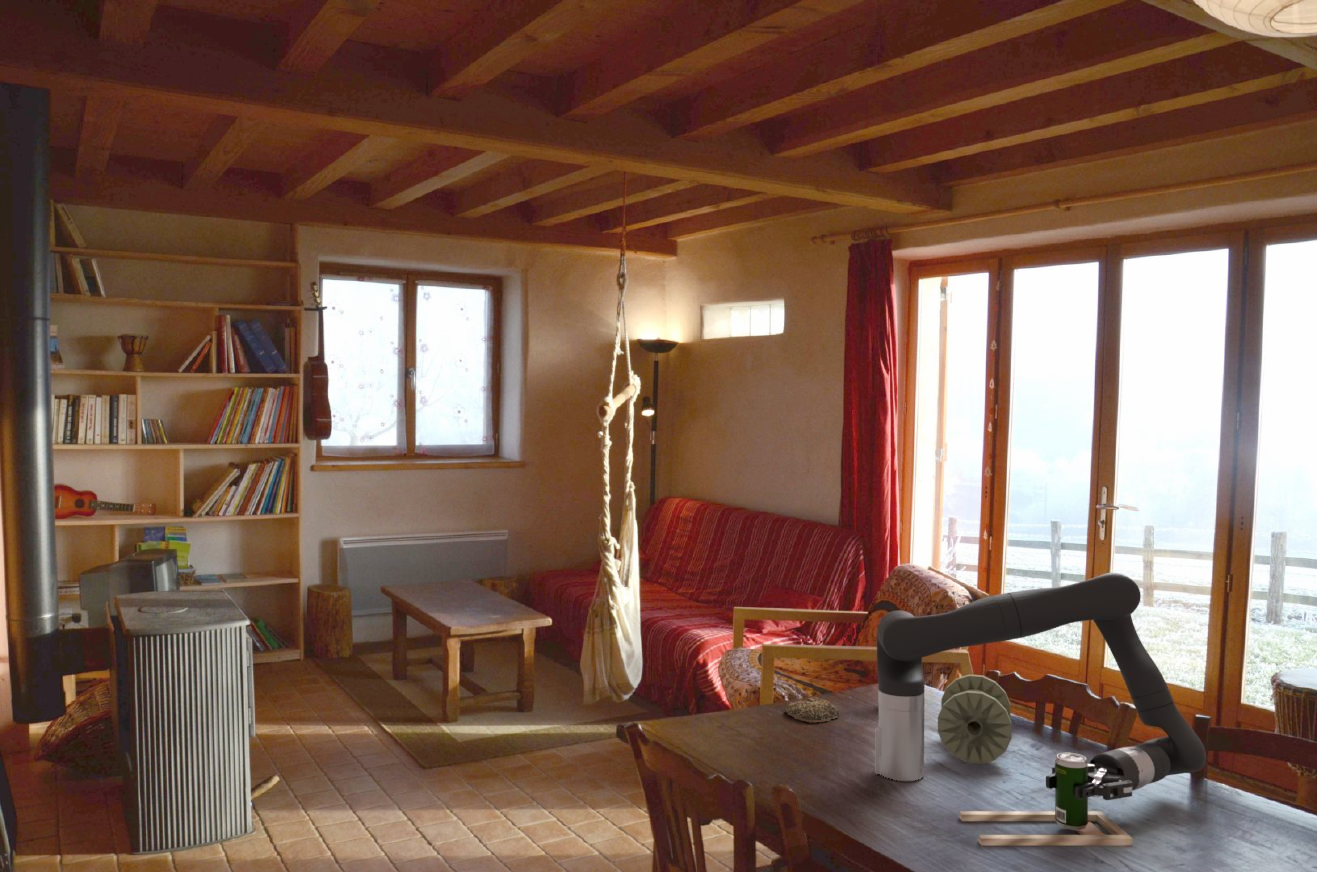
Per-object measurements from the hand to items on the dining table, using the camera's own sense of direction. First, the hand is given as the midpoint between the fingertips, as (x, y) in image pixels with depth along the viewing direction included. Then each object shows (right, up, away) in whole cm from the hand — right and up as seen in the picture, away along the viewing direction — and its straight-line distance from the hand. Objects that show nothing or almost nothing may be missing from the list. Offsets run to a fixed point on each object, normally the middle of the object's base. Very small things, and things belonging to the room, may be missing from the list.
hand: (1062, 787), depth 175 cm
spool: (-1, -8, +45) cm, 46 cm away
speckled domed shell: (-33, -8, +72) cm, 79 cm away
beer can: (+2, -7, +1) cm, 8 cm away
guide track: (-3, -8, +1) cm, 9 cm away
